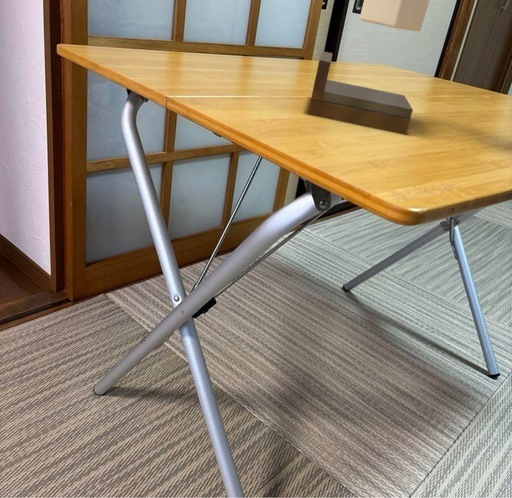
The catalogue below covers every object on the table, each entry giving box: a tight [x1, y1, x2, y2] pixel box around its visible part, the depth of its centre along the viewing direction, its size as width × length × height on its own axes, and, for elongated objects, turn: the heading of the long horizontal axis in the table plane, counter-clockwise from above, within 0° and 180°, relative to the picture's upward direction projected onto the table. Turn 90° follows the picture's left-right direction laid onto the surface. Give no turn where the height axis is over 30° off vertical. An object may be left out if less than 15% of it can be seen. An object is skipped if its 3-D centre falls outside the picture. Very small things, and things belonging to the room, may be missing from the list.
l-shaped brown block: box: [307, 51, 414, 135], centre depth 87 cm, size 16×14×8 cm
